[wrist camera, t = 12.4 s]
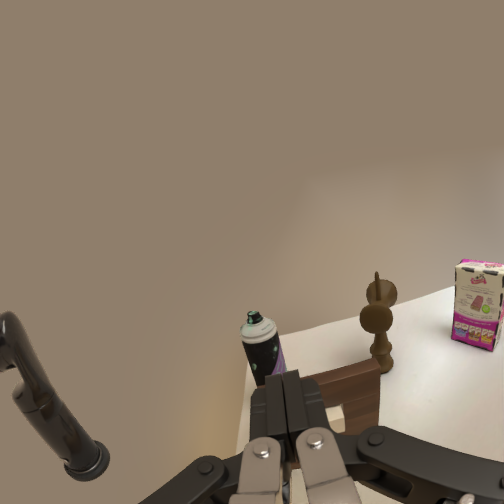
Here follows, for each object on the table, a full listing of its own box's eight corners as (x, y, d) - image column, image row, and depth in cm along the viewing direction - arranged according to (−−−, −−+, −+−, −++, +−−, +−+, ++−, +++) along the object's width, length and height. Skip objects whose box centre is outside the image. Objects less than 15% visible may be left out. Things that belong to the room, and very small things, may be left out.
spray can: (264, 419, 42) (232, 325, 37) (265, 398, 47) (236, 307, 43) (296, 414, 41) (271, 317, 37) (294, 393, 47) (271, 300, 42)
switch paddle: (345, 431, 27) (344, 417, 26) (312, 439, 27) (309, 425, 26) (340, 416, 29) (339, 401, 29) (309, 423, 30) (306, 409, 29)
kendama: (398, 351, 48) (395, 259, 44) (392, 383, 41) (392, 283, 36) (370, 351, 52) (363, 262, 47) (361, 383, 44) (353, 285, 39)
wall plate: (378, 447, 29) (383, 371, 25) (283, 471, 30) (256, 403, 27) (364, 412, 37) (362, 335, 33) (280, 432, 38) (257, 361, 34)
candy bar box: (499, 338, 37) (510, 263, 33) (492, 352, 35) (505, 274, 31) (458, 327, 47) (462, 257, 43) (449, 339, 45) (454, 266, 41)
